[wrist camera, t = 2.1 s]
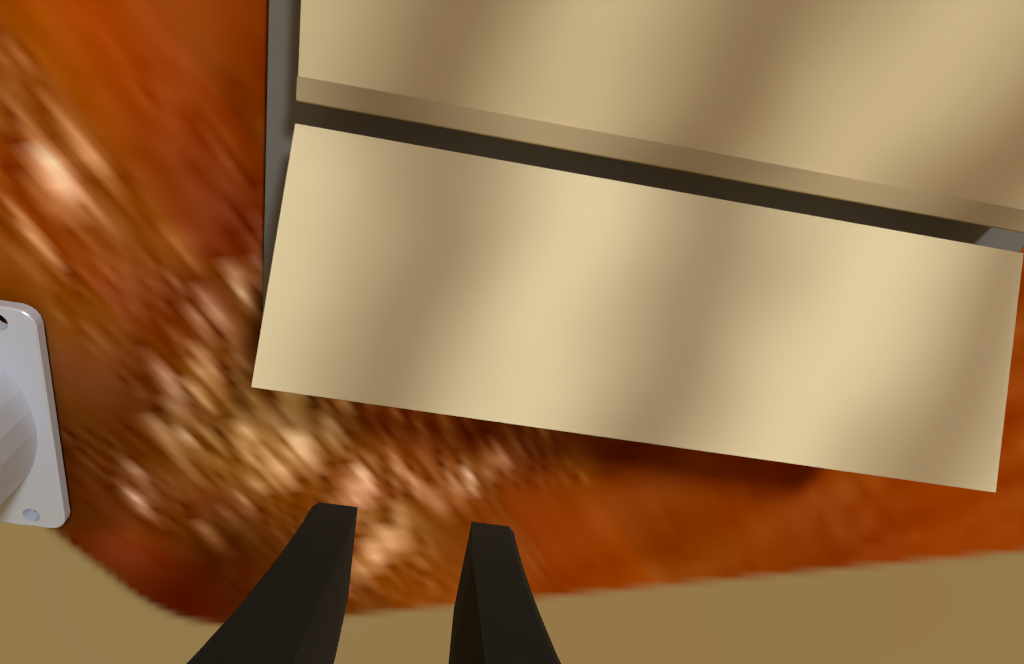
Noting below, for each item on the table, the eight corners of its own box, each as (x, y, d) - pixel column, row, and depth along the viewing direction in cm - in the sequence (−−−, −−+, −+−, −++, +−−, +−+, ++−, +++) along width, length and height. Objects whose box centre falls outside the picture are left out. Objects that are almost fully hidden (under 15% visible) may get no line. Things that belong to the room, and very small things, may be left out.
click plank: (264, 384, 17) (251, 387, 16) (305, 139, 17) (294, 123, 16) (959, 483, 19) (995, 492, 17) (985, 259, 19) (1023, 253, 18)
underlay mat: (264, 364, 21) (261, 369, 20) (281, -354, 13) (276, -361, 13) (899, 456, 23) (903, 462, 22) (1216, -127, 15) (1229, -128, 15)
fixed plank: (309, 92, 17) (295, 102, 16) (324, -216, 14) (308, -231, 13) (1000, 218, 19) (1033, 235, 17) (1132, -34, 16) (1182, -34, 15)
